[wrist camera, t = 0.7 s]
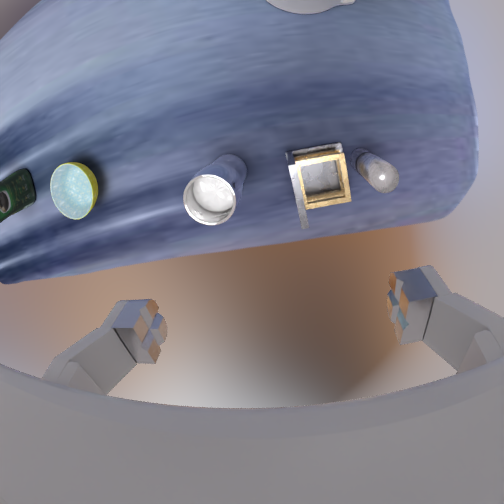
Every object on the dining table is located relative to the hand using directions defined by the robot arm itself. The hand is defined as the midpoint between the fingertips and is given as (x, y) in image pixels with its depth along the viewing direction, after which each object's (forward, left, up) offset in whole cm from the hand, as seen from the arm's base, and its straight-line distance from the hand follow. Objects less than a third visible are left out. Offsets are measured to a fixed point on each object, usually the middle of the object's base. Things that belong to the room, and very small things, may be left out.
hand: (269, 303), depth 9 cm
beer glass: (+7, -6, -39) cm, 40 cm away
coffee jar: (+23, -55, -39) cm, 71 cm away
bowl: (+17, -34, -39) cm, 55 cm away
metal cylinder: (-3, +14, -39) cm, 42 cm away
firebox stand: (+2, +8, -39) cm, 40 cm away
